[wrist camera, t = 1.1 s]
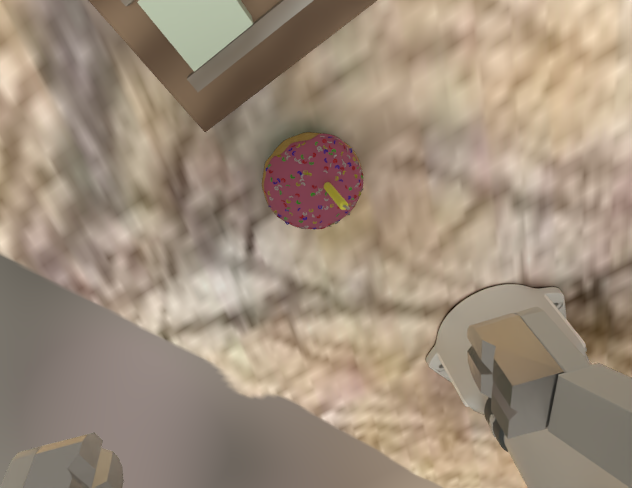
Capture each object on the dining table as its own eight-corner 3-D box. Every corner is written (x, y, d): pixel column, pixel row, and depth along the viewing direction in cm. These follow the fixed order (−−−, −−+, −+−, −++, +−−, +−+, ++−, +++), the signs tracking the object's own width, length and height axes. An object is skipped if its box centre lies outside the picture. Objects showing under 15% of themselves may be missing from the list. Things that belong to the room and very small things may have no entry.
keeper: (251, 16, 32) (253, 24, 28) (199, 58, 33) (194, 71, 29) (204, -53, 29) (199, -54, 26) (149, -4, 31) (137, 2, 27)
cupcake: (302, 96, 37) (324, 147, 27) (370, 155, 41) (412, 218, 31) (241, 169, 40) (241, 240, 30) (310, 218, 44) (330, 295, 34)
